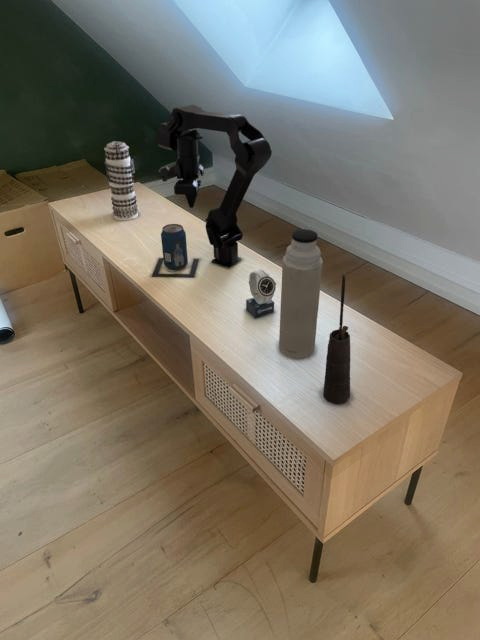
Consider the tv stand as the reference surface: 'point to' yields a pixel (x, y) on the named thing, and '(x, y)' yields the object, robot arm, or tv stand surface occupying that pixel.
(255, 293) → the watch
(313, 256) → the thermos bottle
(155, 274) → the tape square
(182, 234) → the soda can
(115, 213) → the white and grey cylinder
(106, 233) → the tv stand surface
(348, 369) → the butter churn
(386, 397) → the tv stand surface
